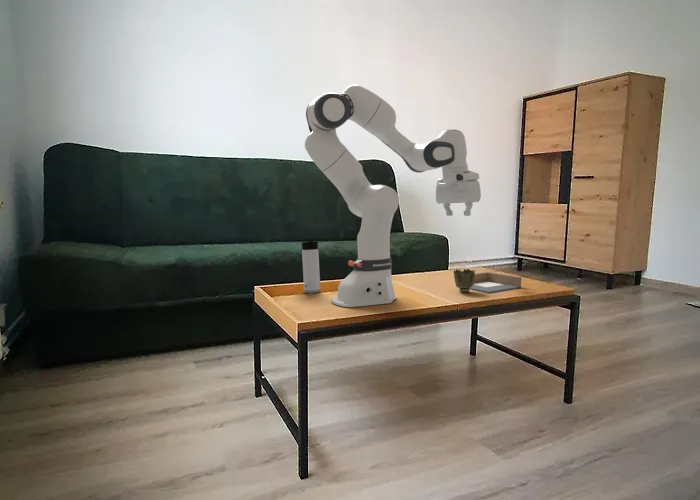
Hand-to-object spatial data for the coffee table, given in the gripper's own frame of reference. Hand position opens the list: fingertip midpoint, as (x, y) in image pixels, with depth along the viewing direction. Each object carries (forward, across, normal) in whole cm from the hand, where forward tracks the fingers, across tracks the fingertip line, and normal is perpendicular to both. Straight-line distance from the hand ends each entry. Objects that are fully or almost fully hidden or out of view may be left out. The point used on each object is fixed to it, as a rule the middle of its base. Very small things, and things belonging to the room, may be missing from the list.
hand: (458, 215), depth 163 cm
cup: (+28, +3, -2) cm, 28 cm away
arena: (+28, +1, +11) cm, 30 cm away
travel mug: (+24, -34, -46) cm, 62 cm away
